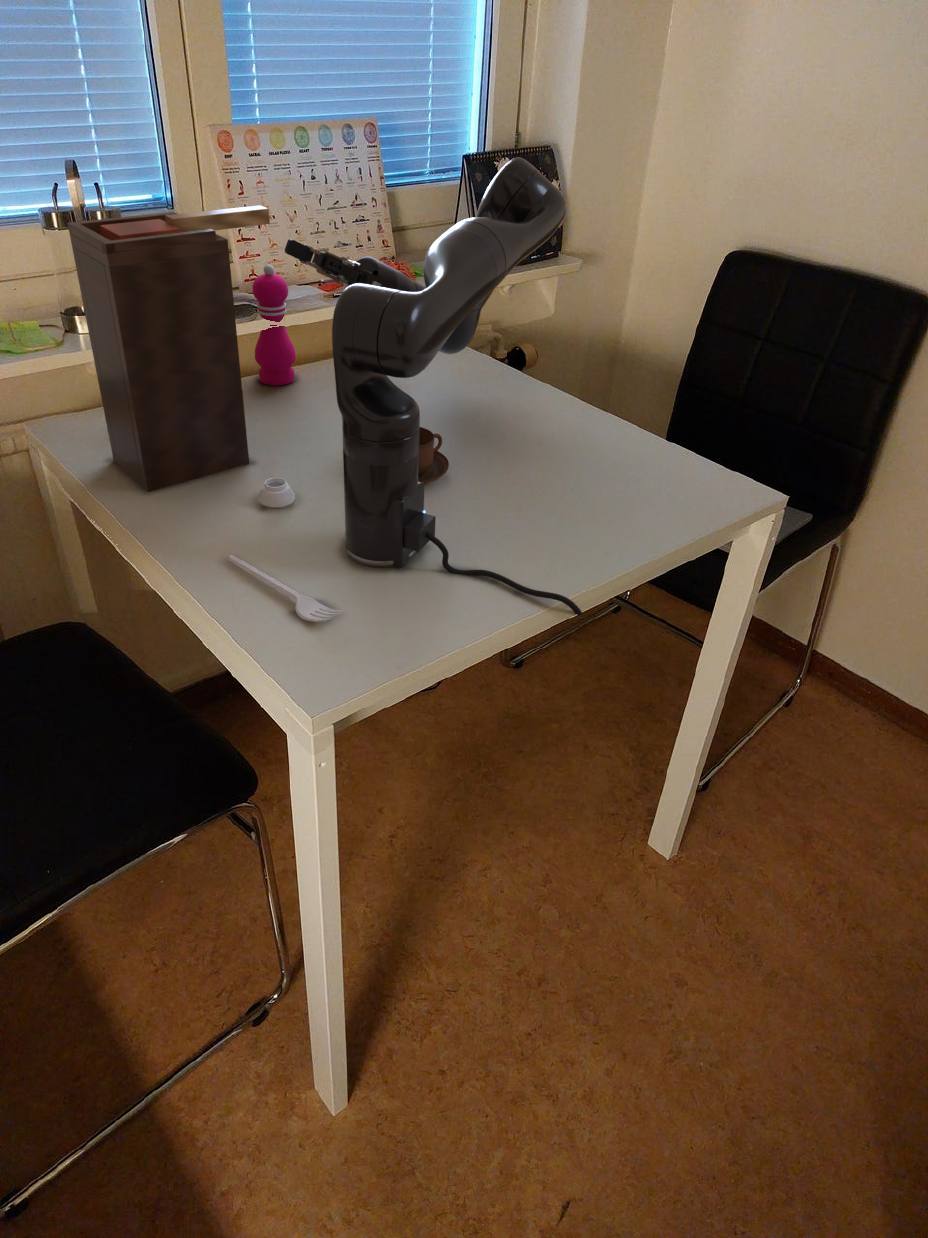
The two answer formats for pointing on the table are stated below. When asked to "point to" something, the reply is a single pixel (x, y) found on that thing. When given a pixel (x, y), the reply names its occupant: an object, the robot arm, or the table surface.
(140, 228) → the spatula
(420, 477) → the cup and saucer
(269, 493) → the white jar
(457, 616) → the table surface
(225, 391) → the tall wooden box
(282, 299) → the pepper mill
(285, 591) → the fork
